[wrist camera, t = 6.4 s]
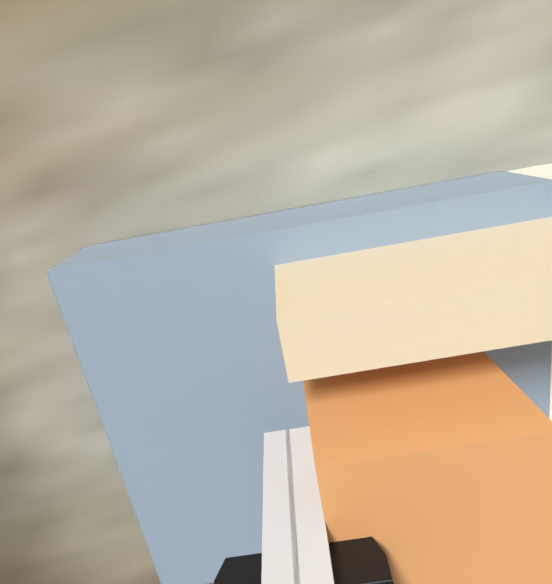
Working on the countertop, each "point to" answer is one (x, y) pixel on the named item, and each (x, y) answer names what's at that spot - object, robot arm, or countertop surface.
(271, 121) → the countertop surface
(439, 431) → the block
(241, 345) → the tunnel deck
